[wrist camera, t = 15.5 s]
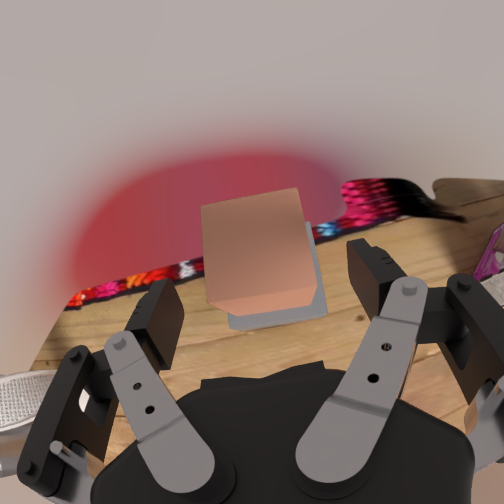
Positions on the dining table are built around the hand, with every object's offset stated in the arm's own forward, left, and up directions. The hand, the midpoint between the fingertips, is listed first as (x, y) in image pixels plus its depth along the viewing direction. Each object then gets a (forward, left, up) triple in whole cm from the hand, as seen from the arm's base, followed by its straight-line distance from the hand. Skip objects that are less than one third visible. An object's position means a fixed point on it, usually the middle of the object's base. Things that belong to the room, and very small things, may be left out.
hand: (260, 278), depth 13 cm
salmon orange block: (0, +3, -11) cm, 11 cm away
